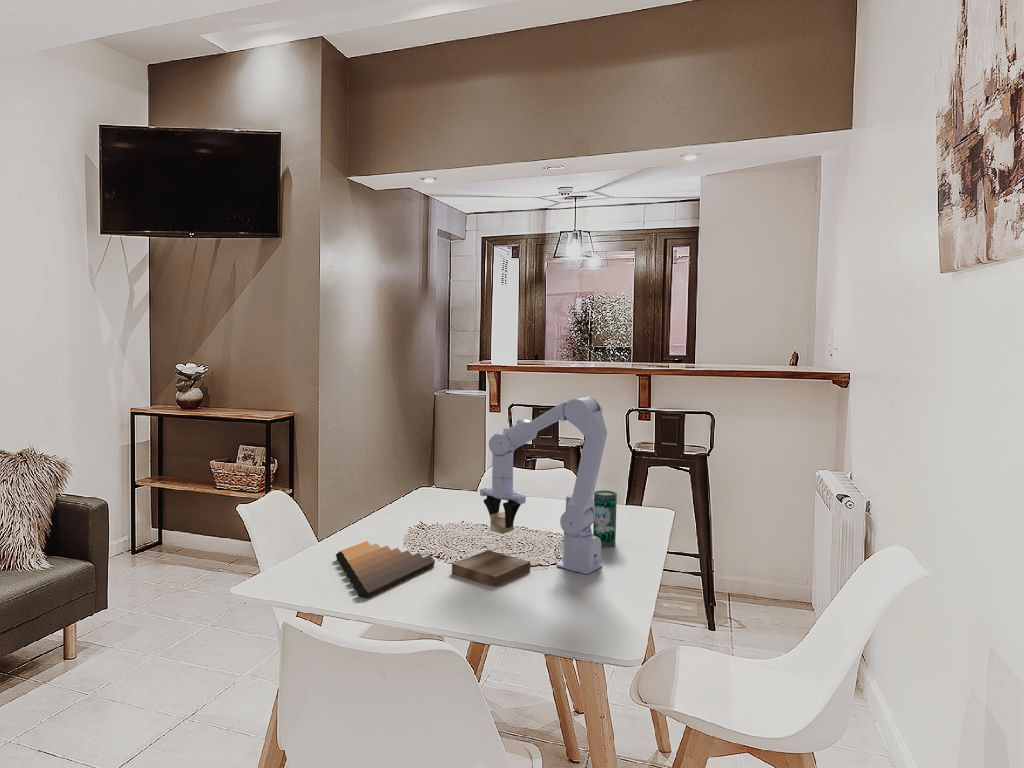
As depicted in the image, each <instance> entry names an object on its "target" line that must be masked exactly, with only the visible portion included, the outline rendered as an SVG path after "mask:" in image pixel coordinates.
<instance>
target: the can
mask: <svg viewBox="0 0 1024 768" xmlns="http://www.w3.org/2000/svg"><path fill="white" fill-rule="evenodd" d="M593 500H594V502H595V505H594V512H595V521H594V523H593V524H592V527H593V531H592V534H593V535H594V536H596V537H598V538H600V540H601V548H612V547H615V546H616V536H617V534H616V533H617V531H616V529H617V503H618V501H617V500H618V494H617V492H616V491H612V490H604V489H603V490H596V491H594V494H593Z"/></svg>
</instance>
